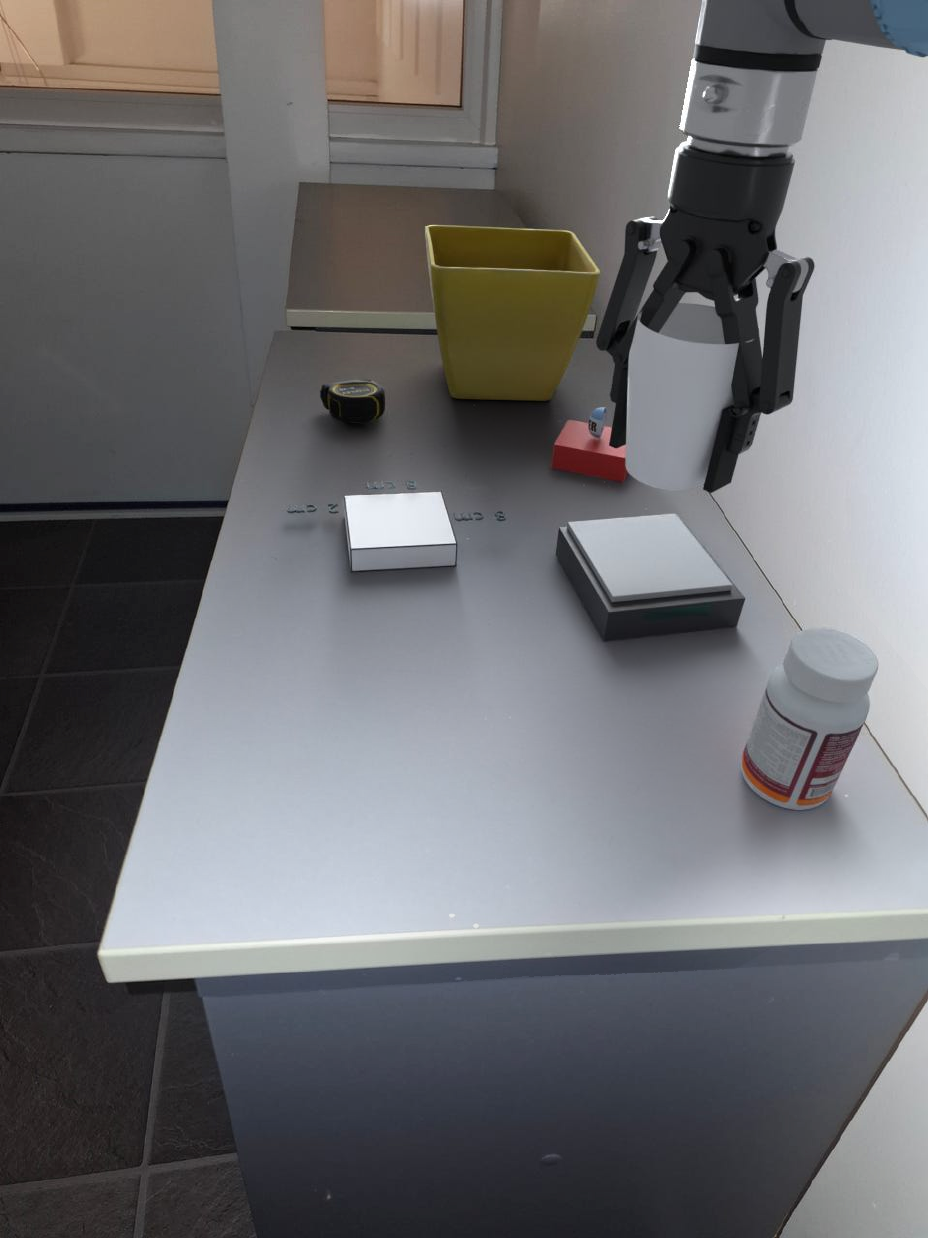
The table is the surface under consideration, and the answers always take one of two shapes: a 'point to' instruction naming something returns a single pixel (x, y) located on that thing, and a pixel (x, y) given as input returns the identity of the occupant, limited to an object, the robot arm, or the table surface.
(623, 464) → the red rectangular block
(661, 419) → the cup
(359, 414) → the tape measure
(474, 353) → the flower pot
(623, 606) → the scale
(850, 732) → the pill bottle
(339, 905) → the table surface
